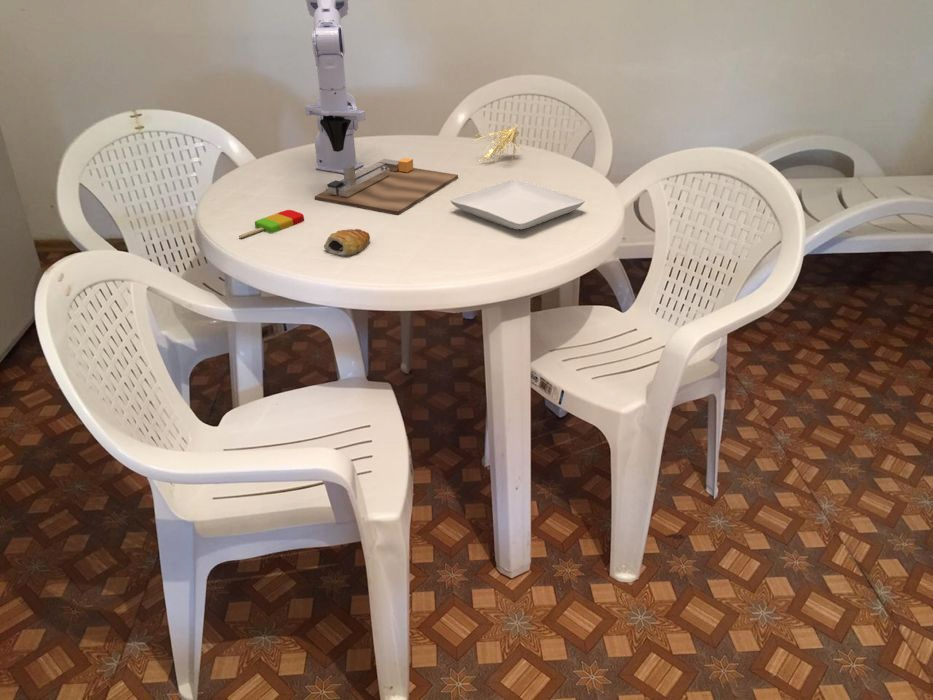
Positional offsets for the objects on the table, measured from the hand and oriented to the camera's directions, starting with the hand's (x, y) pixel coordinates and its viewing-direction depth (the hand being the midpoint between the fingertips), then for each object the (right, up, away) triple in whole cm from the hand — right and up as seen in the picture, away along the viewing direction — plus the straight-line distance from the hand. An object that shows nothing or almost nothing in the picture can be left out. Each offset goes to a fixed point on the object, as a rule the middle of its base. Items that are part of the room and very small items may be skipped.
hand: (338, 150), depth 163 cm
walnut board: (+11, -7, +6) cm, 14 cm away
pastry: (+6, -26, -23) cm, 35 cm away
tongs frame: (+5, -5, +8) cm, 11 cm away
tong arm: (+5, -7, +5) cm, 10 cm away
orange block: (+14, -1, +15) cm, 21 cm away
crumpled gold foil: (+38, +4, +26) cm, 46 cm away
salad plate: (+40, -16, -7) cm, 43 cm away
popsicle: (-12, -21, -14) cm, 27 cm away
